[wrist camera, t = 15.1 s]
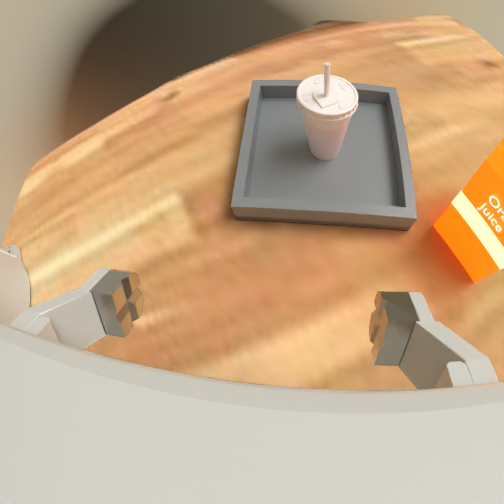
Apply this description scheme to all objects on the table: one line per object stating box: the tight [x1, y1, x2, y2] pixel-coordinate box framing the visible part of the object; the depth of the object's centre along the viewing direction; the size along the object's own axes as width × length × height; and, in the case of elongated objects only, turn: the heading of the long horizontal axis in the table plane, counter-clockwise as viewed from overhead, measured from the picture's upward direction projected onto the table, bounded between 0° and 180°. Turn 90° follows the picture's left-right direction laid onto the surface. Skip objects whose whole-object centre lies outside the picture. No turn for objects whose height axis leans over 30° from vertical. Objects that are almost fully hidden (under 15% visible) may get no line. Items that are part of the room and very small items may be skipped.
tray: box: [231, 80, 417, 231], centre depth 37 cm, size 20×20×4 cm
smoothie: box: [296, 62, 358, 160], centre depth 31 cm, size 6×6×14 cm
